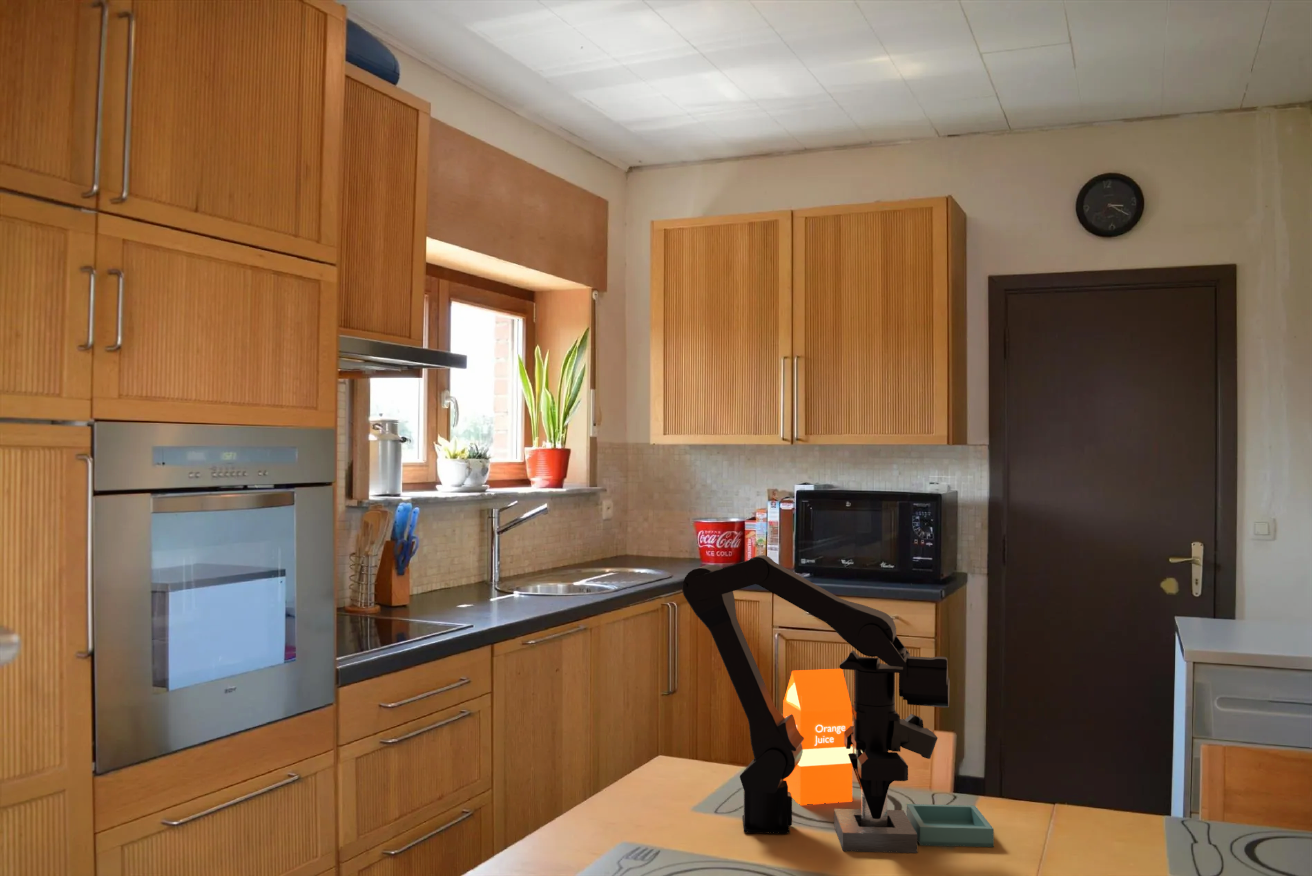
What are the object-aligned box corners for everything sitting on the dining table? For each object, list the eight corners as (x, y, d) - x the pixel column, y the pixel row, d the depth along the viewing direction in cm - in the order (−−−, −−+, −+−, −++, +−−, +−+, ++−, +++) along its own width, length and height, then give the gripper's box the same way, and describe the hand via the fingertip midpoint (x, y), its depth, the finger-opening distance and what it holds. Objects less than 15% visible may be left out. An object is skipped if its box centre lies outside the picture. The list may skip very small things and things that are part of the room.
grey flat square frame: (842, 851, 142) (842, 832, 142) (834, 826, 152) (834, 808, 152) (917, 853, 141) (917, 834, 141) (903, 827, 151) (903, 810, 151)
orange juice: (782, 790, 168) (782, 666, 169) (833, 787, 171) (833, 664, 171) (800, 806, 161) (800, 675, 162) (853, 802, 163) (853, 673, 164)
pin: (863, 843, 145) (863, 786, 145) (859, 834, 148) (859, 779, 149) (889, 844, 145) (889, 787, 145) (884, 835, 148) (885, 779, 148)
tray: (920, 845, 144) (920, 827, 144) (906, 821, 154) (906, 804, 154) (993, 847, 144) (993, 828, 144) (975, 822, 154) (975, 805, 154)
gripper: (947, 719, 137) (947, 838, 137) (918, 689, 156) (918, 794, 155) (861, 717, 138) (861, 836, 137) (843, 688, 157) (843, 793, 156)
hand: (874, 813), depth 147 cm, fingers closed on pin, 4 cm apart
